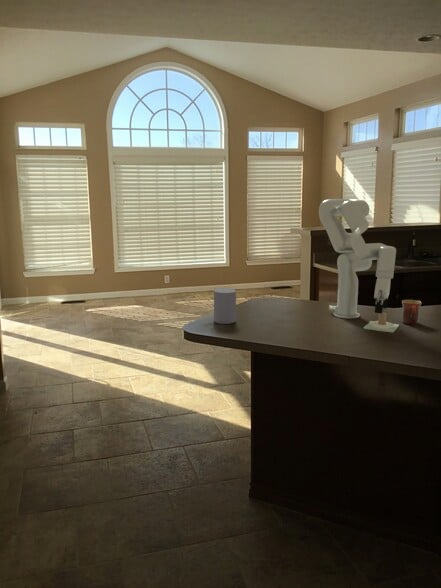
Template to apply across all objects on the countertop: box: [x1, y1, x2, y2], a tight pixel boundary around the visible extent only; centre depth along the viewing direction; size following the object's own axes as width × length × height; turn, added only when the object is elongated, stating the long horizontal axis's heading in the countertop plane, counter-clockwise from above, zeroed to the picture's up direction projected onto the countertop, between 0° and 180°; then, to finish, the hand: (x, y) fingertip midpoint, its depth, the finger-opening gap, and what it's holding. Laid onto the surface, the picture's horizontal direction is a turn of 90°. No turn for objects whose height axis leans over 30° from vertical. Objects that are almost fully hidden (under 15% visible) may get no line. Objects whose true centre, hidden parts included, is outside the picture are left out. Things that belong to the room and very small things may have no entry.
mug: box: [401, 299, 422, 325], centre depth 244 cm, size 12×9×10 cm
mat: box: [363, 320, 400, 334], centre depth 239 cm, size 13×13×1 cm
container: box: [213, 287, 237, 325], centre depth 246 cm, size 10×10×15 cm
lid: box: [370, 311, 394, 329], centre depth 238 cm, size 10×10×6 cm
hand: (380, 310), depth 238 cm, fingers open, 9 cm apart
